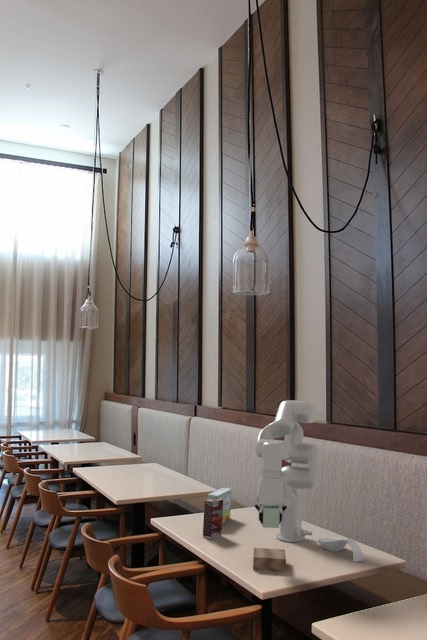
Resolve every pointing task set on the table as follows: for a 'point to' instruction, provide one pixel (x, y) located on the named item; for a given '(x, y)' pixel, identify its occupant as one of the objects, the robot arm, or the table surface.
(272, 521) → the sage block
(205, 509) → the supplement box
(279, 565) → the walnut slab
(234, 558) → the table surface
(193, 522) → the table surface
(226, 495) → the snack box
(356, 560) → the spoon rest
